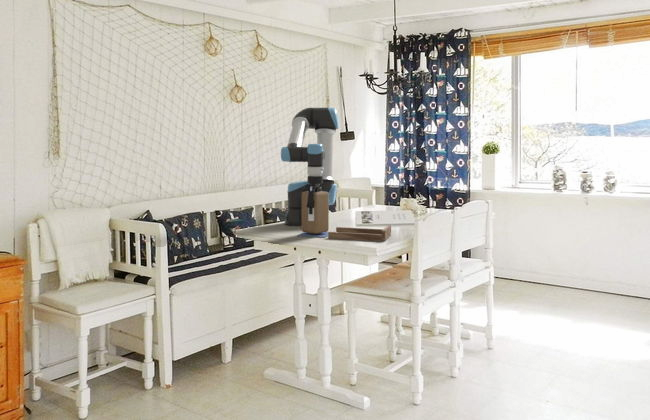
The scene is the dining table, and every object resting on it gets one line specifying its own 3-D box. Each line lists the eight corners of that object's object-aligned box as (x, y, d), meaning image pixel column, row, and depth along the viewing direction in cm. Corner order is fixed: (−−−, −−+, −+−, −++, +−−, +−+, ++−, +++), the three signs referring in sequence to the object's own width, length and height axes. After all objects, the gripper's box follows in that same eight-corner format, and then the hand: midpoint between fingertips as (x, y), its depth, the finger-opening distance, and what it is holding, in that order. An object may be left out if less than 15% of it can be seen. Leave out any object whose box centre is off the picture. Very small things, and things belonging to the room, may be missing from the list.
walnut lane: (336, 232, 320) (336, 223, 320) (390, 235, 313) (391, 225, 312) (328, 238, 305) (328, 228, 305) (384, 241, 298) (384, 230, 297)
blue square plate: (306, 231, 324) (305, 230, 324) (332, 233, 320) (332, 232, 320) (297, 236, 311) (297, 235, 310) (324, 237, 307) (324, 236, 307)
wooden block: (313, 229, 322) (313, 190, 319) (329, 231, 316) (329, 191, 313) (300, 232, 314) (300, 191, 312) (316, 234, 308) (316, 193, 306)
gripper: (315, 177, 299) (315, 222, 302) (329, 173, 322) (329, 215, 325) (300, 177, 301) (300, 222, 304) (315, 173, 324) (315, 215, 327)
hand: (315, 219), depth 314 cm, fingers closed on wooden block, 12 cm apart
